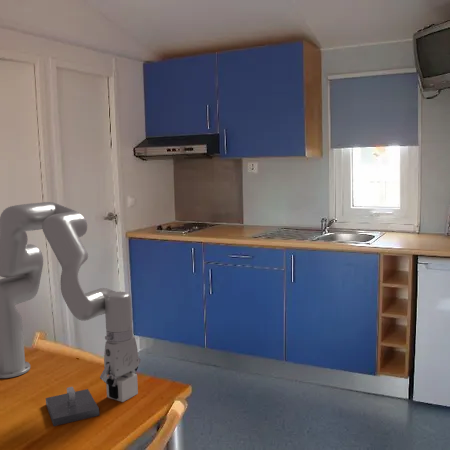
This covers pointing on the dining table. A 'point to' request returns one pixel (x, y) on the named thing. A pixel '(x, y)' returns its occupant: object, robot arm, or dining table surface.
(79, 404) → the plate
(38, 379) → the dining table surface
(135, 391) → the knob
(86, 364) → the dining table surface
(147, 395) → the dining table surface
